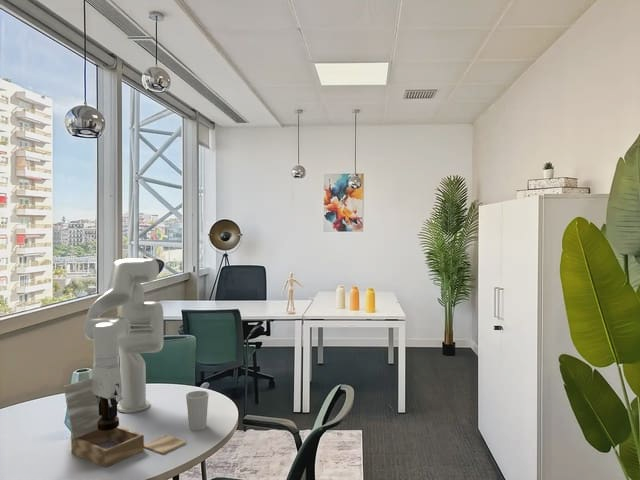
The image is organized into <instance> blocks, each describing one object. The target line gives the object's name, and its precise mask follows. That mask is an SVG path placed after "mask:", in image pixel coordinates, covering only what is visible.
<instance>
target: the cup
mask: <svg viewBox="0 0 640 480" xmlns="http://www.w3.org/2000/svg"><path fill="white" fill-rule="evenodd" d="M209 393H210V392H208V391H205V390H193V391H190V392H187V393H186V394H185V397H186V398H185V399H186V400H185V401H186V406H187V417H188V418H187V419H188V429H189V430H191V431H201V430H205V429H206V428H207V427H208V426H207V425H208V424H207V421H208V420H207V418H208V406H209V405H208V404H209Z"/></svg>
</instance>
